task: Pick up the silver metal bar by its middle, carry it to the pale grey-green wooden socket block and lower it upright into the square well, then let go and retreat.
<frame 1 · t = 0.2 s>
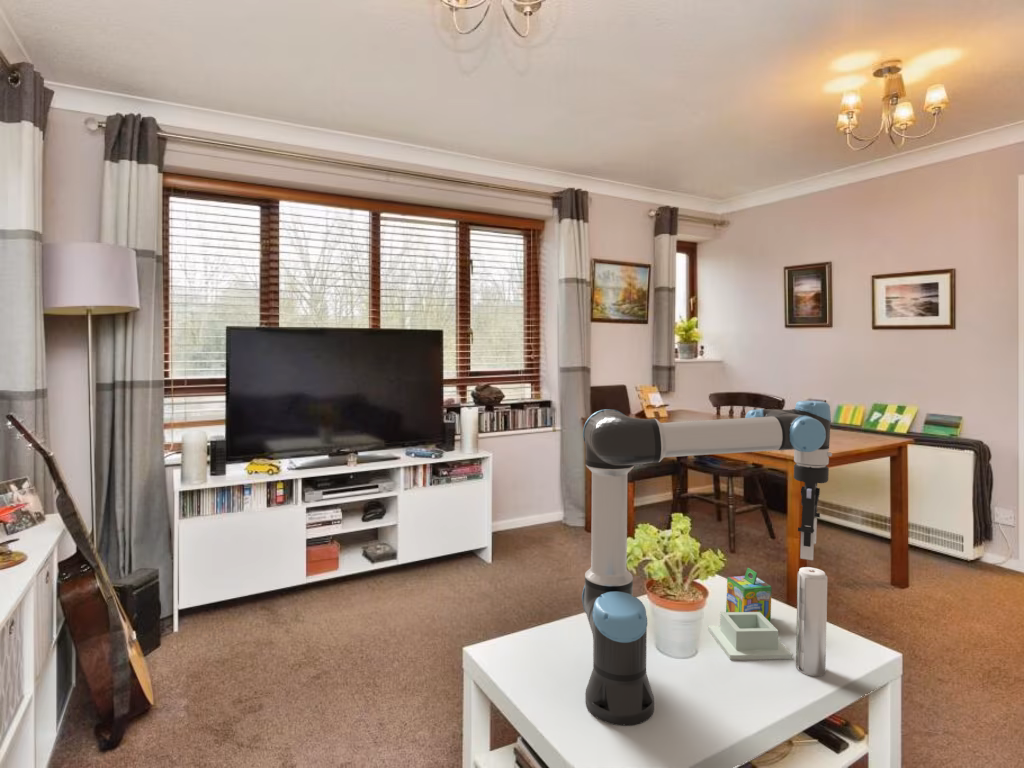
hand: (808, 550, 141), 30 cm above the table, fingers open, 13 cm apart
chalk box: (748, 620, 170), on the table
socket block: (748, 643, 156), on the table
silver metal bar: (810, 670, 143), on the table
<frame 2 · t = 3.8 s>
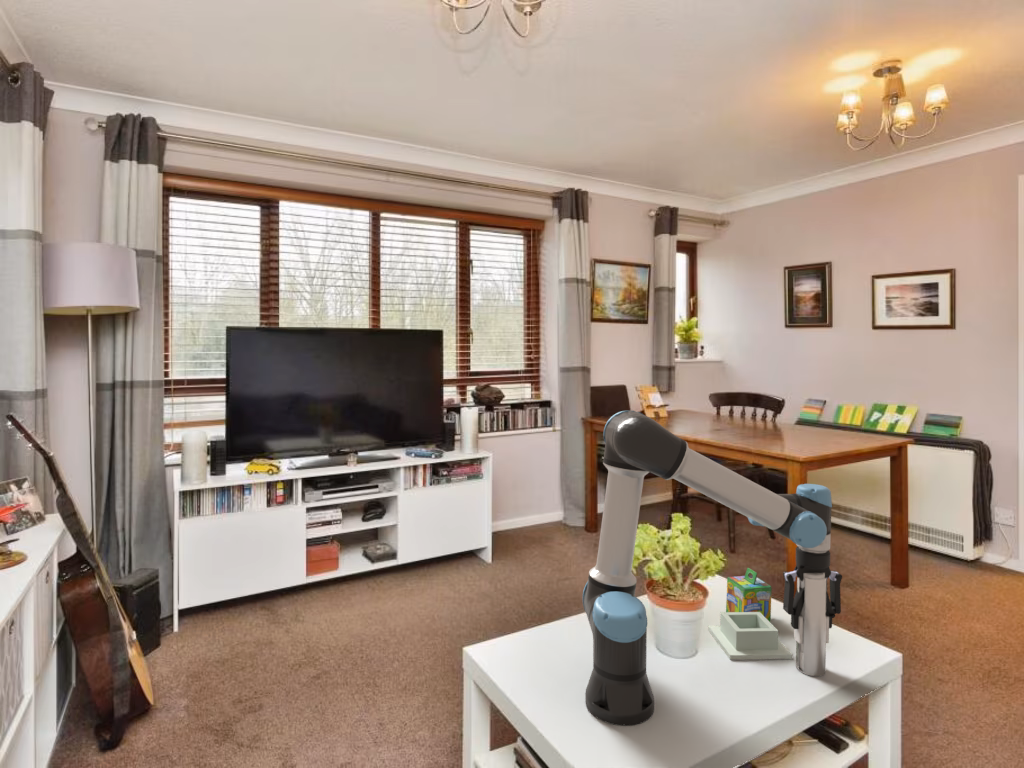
hand: (811, 640, 142), 7 cm above the table, fingers closed on silver metal bar, 6 cm apart
silver metal bar: (810, 670, 143), on the table, touching gripper
everything else where it was.
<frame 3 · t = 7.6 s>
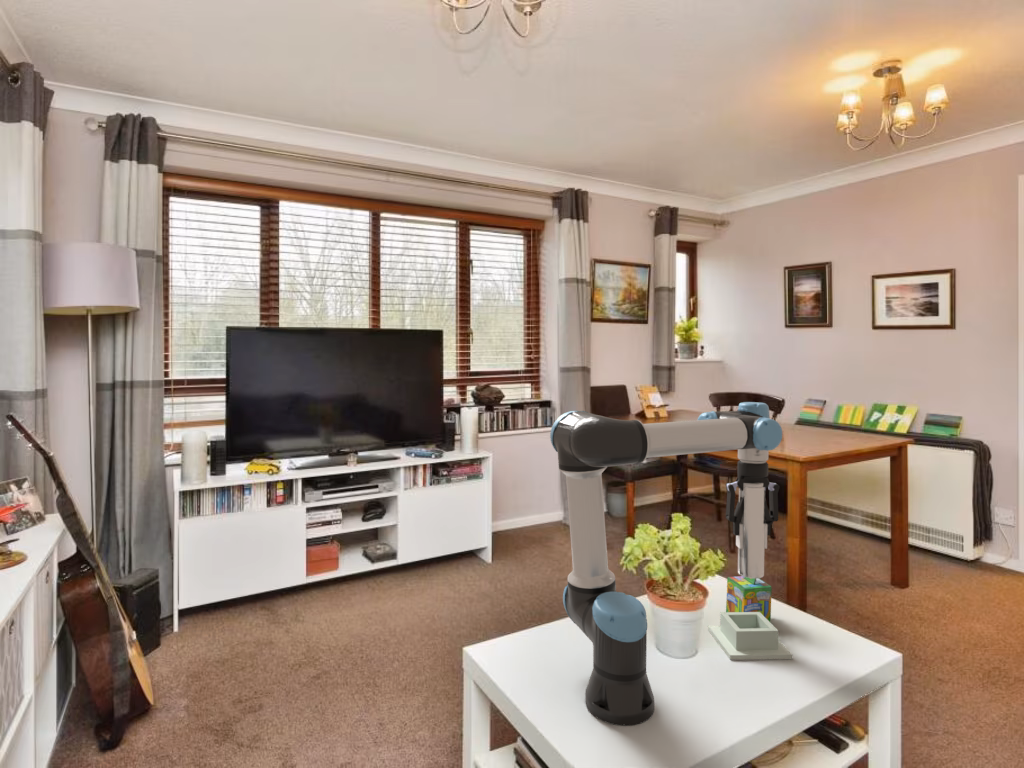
hand: (751, 546, 154), 27 cm above the table, fingers closed on silver metal bar, 6 cm apart
silver metal bar: (750, 574, 154), point 19 cm above the table, touching gripper
everything else where it was.
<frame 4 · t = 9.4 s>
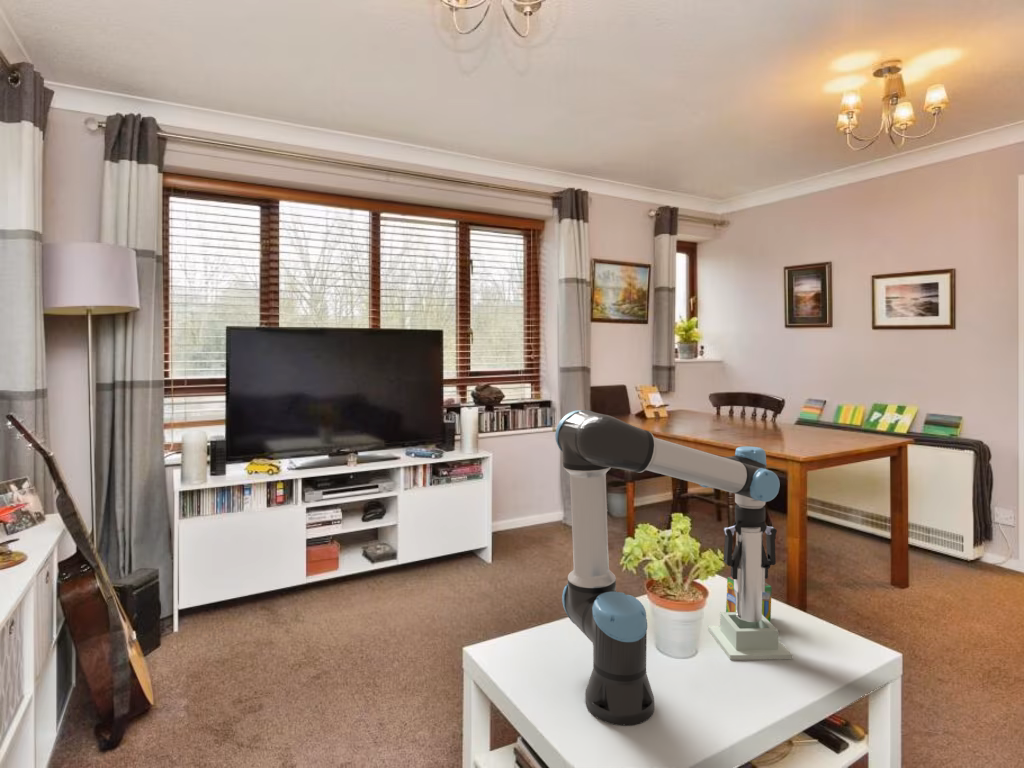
hand: (749, 590, 155), 15 cm above the table, fingers closed on silver metal bar, 6 cm apart
silver metal bar: (748, 617, 155), point 7 cm above the table, touching gripper
everything else where it was.
when the fingers open (10 cm above the table, at t = 11.2 s): silver metal bar drops 1 cm, resting on socket block.
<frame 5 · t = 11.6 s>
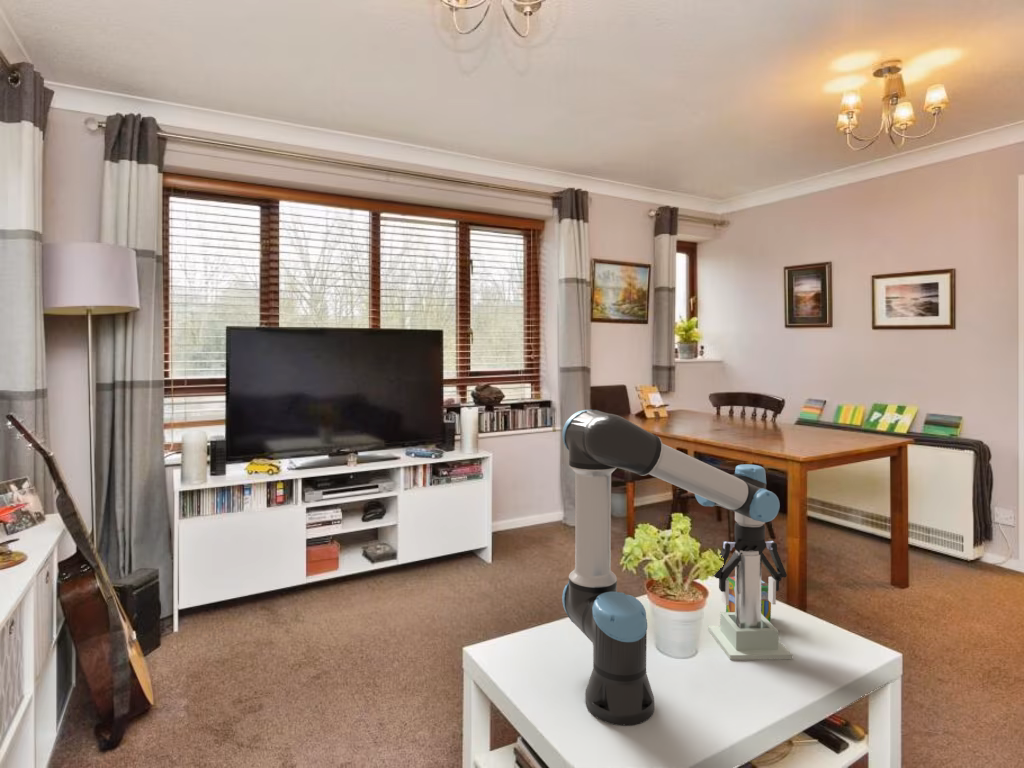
hand: (748, 602, 155), 11 cm above the table, fingers open, 12 cm apart
silver metal bar: (747, 640, 156), point 1 cm above the table, touching socket block
everything else where it was.
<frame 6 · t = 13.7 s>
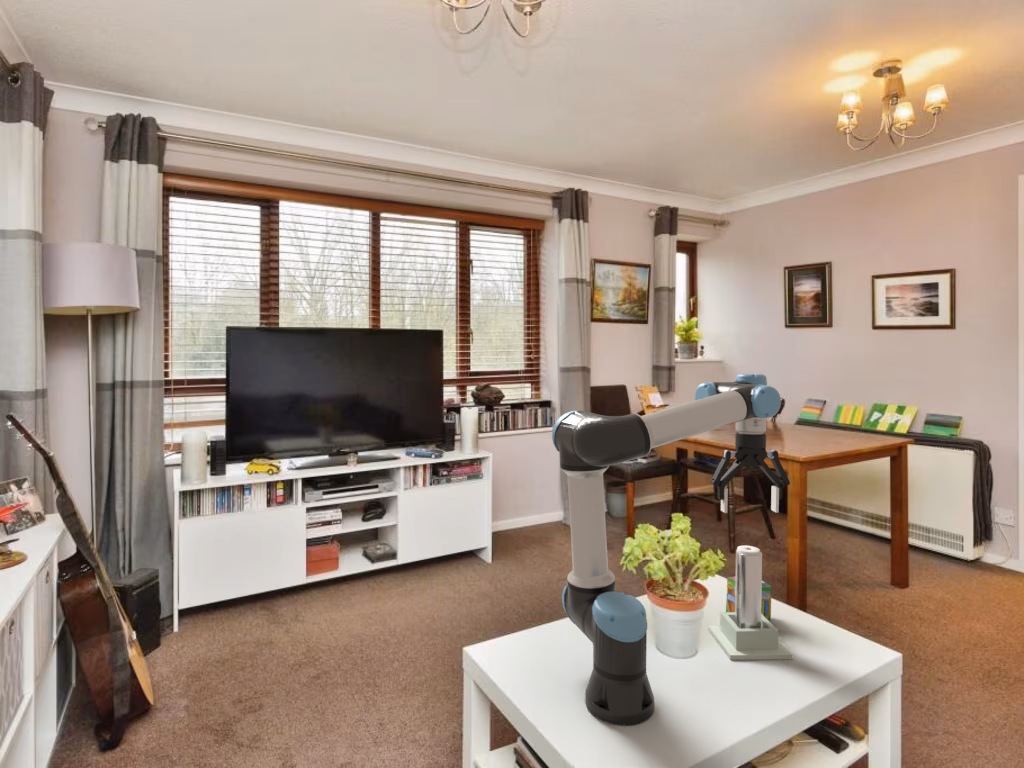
hand: (749, 511, 154), 36 cm above the table, fingers open, 13 cm apart
nothing on the table moved.
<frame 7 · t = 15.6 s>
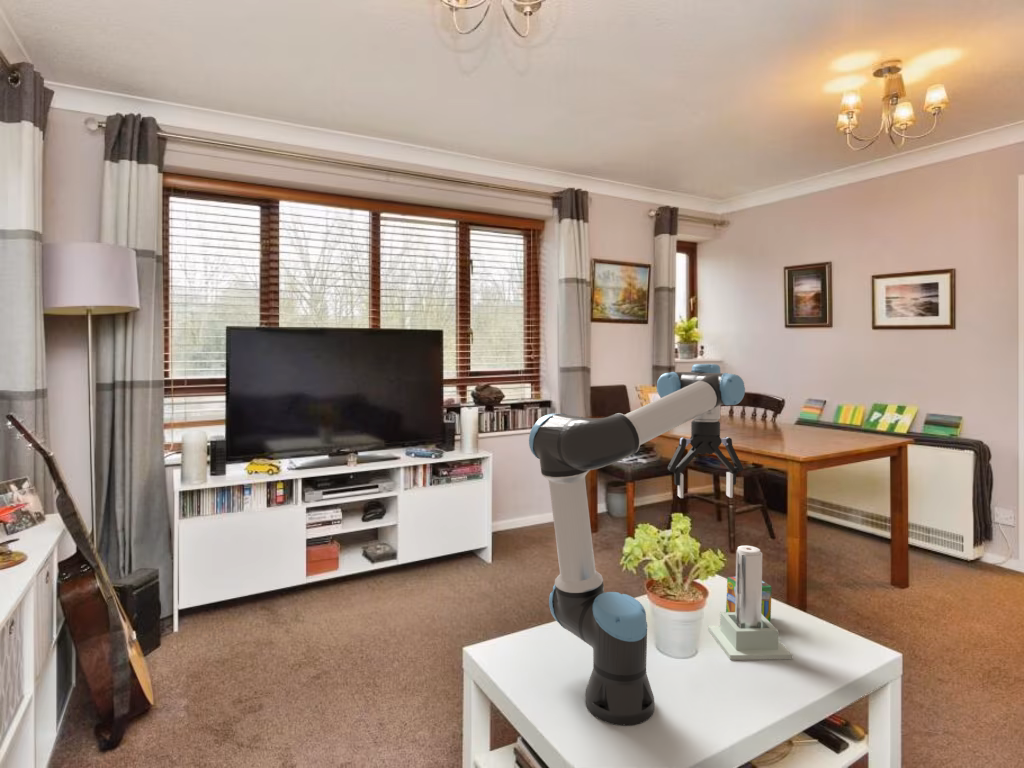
hand: (704, 496, 159), 39 cm above the table, fingers open, 13 cm apart
nothing on the table moved.
at the end: silver metal bar 0.1 cm off-centre on the socket block, point 1.0 cm above the socket block's base; silver metal bar tilted 0°; the gripper is holding nothing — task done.
